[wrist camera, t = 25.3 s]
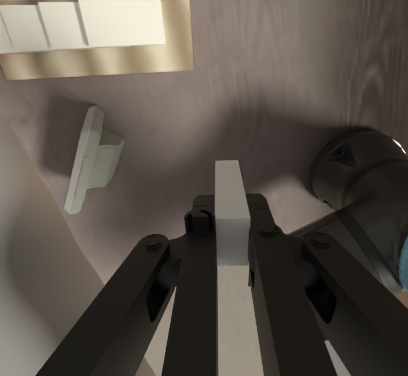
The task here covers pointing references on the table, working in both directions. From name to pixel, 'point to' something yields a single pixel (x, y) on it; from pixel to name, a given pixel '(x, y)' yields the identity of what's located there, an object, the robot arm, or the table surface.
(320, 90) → the table surface
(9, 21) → the domino
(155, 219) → the table surface
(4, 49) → the domino
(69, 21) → the domino
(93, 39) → the domino
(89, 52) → the board
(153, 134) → the table surface
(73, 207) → the digital clock
